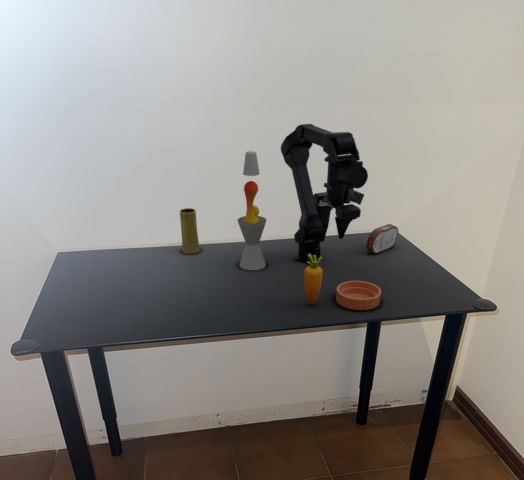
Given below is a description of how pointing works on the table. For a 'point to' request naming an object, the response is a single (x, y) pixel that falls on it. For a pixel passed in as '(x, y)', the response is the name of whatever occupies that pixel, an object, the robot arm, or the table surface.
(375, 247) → the tin
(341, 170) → the robot arm
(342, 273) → the table surface
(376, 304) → the bowl
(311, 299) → the carrot
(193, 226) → the vase
